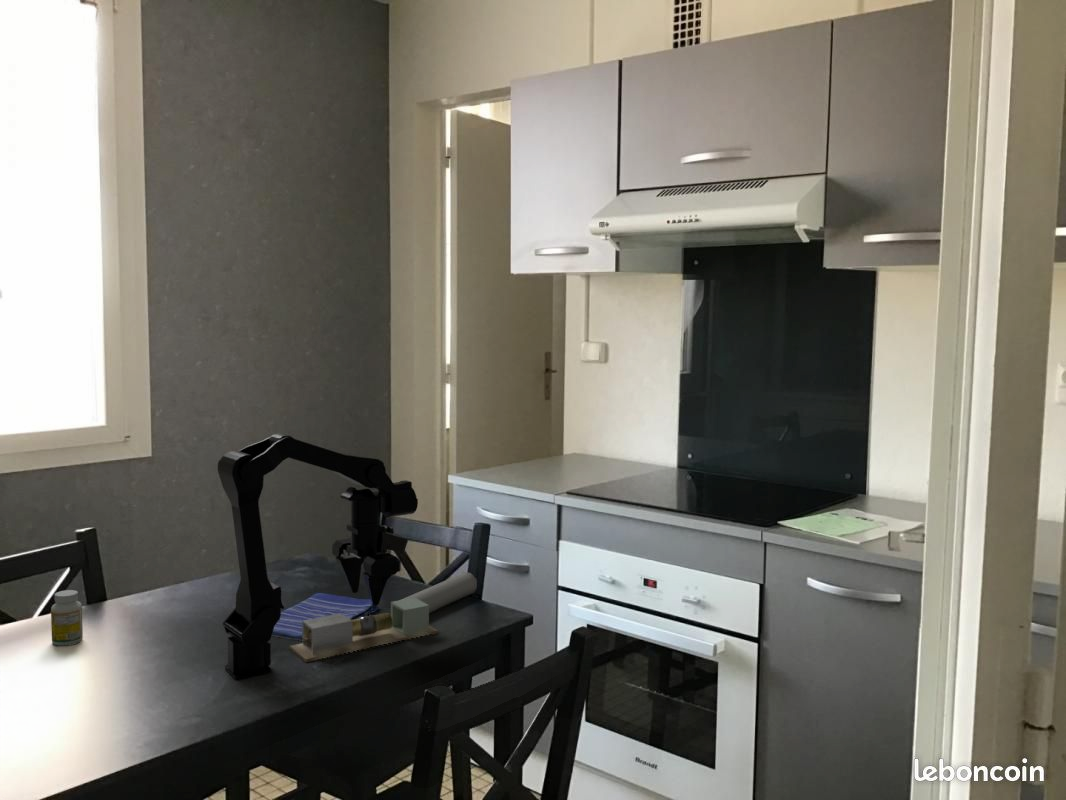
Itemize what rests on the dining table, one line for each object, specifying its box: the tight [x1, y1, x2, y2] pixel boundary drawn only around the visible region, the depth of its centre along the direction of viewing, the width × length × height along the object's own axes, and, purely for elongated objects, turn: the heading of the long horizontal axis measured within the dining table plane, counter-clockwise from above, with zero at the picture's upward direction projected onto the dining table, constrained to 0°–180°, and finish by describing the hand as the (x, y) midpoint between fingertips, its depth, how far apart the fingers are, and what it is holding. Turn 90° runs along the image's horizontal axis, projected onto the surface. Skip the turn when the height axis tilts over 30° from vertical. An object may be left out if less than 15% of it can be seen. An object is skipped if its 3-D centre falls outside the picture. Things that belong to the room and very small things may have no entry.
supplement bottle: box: [50, 589, 84, 647], centre depth 173 cm, size 5×5×10 cm
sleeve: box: [301, 613, 353, 655], centre depth 172 cm, size 8×5×5 cm, turn 126°
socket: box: [390, 598, 430, 636], centre depth 182 cm, size 6×6×5 cm
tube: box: [401, 571, 478, 614], centre depth 198 cm, size 5×5×25 cm
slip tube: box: [309, 612, 392, 643], centre depth 175 cm, size 16×4×4 cm, turn 126°
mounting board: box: [289, 625, 439, 663], centre depth 177 cm, size 28×8×1 cm, turn 126°
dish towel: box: [271, 592, 380, 642], centre depth 188 cm, size 17×24×3 cm
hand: (365, 598), depth 176 cm, fingers open, 9 cm apart
